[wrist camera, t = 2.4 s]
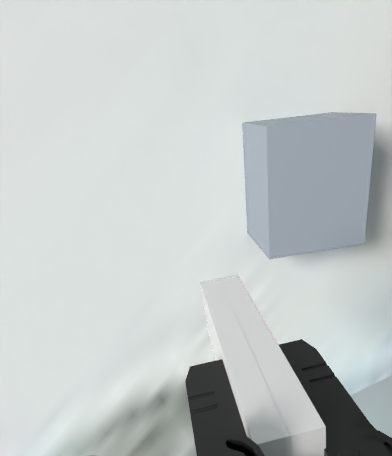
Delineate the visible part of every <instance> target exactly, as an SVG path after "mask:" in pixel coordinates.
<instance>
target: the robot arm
mask: <svg viewBox="0 0 392 456" xmlns="http://www.w3.org/2000/svg"><path fill="white" fill-rule="evenodd" d="M200 285H201V291H202V296H203V302H204V308H205V314H206V320H207V326H208V332H209V338H210V342H211V346H212V349H213V353H214V356H215V360H216V361H212V362H208V363H204V364H200V365H195V366H191V367H190V369H189V372H188V375H187V378H186V388H187V395H188V401H189V407H190V413H191V420H192V427H193V433H194V439H195V446H196V452H197V456H392V438H391V437H389V436H387V435H386V434H384V433H382V432H380V431H377V430H376V429H375V428H374V427H373V426H372V425H371V424H370V423H369V421H368V420H367V419H366V417H365V416H364V414H363V413H362V412H361V410H360V409H359V408H358V406H357V405H356V403H355V402H354V401H353V399H352V398H351V396H350V395H349V394H348V392H347V391H346V390H345V388H344V387H343V385H342V384H341V383H340V381H339V380H338V379H337V377H335V375H334V373H333V372H332V370H331V369H330V368H329V366H327V365H326V362H325V361H324V359H323V358H322V356H321V355H320V354H319V352H318V351H317V350H316V349H315V348H314V347H312V346H311V345H309V344H308V343H306V342H305V341H303V340H302V339H301V340H297V341H293V342H289V343H284V344H280V345H278V343H277V342H276V340H275V338H274V336H273V335H272V333H271V331H270V329H269V328H268V326H267V324H266V322H265V321H264V319H263V317H262V316H261V314H260V312H259V310H258V309H257V307H256V305H255V303H254V302H253V300H252V298H251V297H250V295H249V293H248V291H247V290H246V288H245V286H244V284H243V283H242V281H241V279H240V277H239V276H238V275H234V276H229V277H225V278H220V279H215V280H211V281H206V282H201V283H200Z"/></svg>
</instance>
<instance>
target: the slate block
mask: <svg viewBox="0 0 392 456" xmlns="http://www.w3.org/2000/svg"><path fill="white" fill-rule="evenodd" d="M375 124H376V114H374V113H323V114H315V115H306V116H297V117H289V118H280V119H271V120H262V121H254V122H245V123H242V126H243V148H244V169H245V191H246V212H247V233H248V234H249V235H250V237H251V238H252V239H253V240H254V241H255V243H256V244H257V245H258V246H259V247H260V249H261V250H262V251H263V252H264V253H265V255H266V256H267V257H268V258H269V259H274V258H280V257H286V256H293V255H299V254H305V253H311V252H317V251H324V250H330V249H336V248H342V247H348V246H354V245H361V244H364V243H365V233H366V222H367V211H368V200H369V189H370V178H371V167H372V157H373V146H374V135H375Z"/></svg>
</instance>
